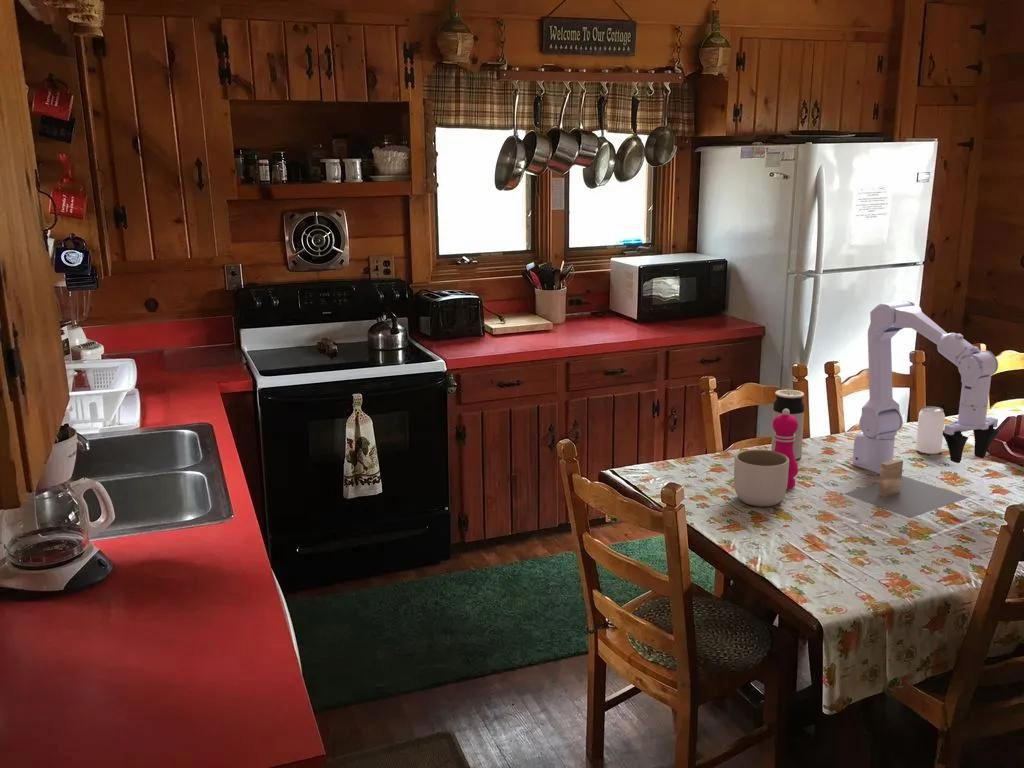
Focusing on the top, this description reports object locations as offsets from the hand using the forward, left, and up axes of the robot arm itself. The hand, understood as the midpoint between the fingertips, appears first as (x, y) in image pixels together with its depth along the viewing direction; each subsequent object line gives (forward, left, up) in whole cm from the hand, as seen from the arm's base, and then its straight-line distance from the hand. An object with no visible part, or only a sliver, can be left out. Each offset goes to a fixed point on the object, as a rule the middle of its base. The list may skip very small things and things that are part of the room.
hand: (967, 459), depth 208 cm
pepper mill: (-30, -28, -10) cm, 42 cm away
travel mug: (-45, -10, -10) cm, 47 cm away
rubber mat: (-8, -10, -10) cm, 16 cm away
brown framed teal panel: (-11, -12, -9) cm, 19 cm away
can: (-26, +25, -10) cm, 37 cm away
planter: (-26, -40, -10) cm, 49 cm away
